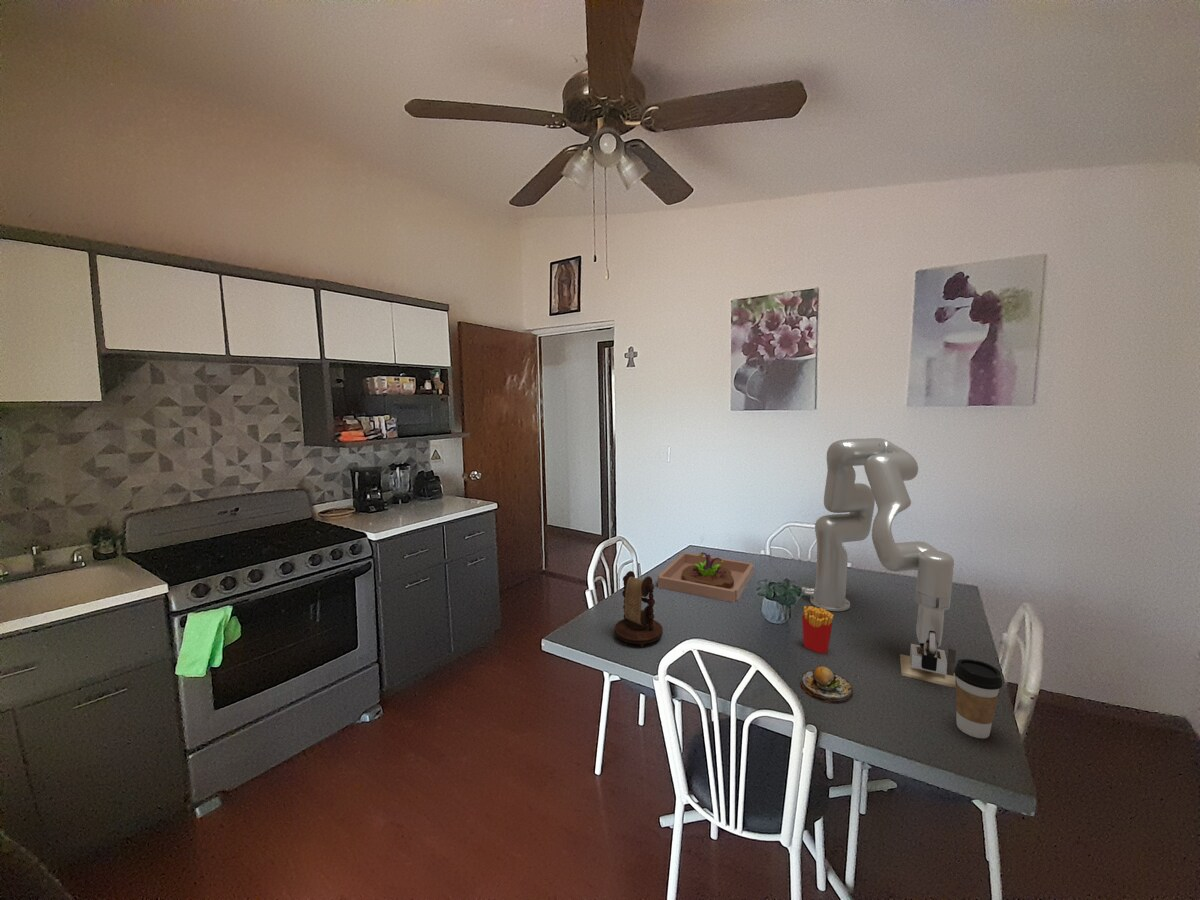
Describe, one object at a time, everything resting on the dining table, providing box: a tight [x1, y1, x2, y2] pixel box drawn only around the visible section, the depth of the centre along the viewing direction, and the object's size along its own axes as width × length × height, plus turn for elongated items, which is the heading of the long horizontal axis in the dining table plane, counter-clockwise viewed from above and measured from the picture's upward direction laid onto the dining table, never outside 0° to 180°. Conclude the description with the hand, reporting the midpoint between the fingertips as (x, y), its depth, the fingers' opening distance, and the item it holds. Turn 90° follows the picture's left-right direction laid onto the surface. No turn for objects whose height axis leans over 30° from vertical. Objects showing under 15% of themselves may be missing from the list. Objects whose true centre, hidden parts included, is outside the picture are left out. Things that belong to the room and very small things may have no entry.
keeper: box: [899, 645, 957, 689], centre depth 131 cm, size 12×10×8 cm
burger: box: [800, 665, 854, 704], centre depth 125 cm, size 12×12×8 cm
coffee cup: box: [954, 658, 1003, 739], centre depth 109 cm, size 8×8×15 cm
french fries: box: [801, 605, 834, 654], centre depth 143 cm, size 8×4×12 cm, turn 42°
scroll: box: [614, 570, 664, 648], centre depth 151 cm, size 15×15×20 cm
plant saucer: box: [657, 552, 755, 603], centre depth 194 cm, size 30×30×4 cm
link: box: [909, 643, 948, 675], centre depth 131 cm, size 8×6×4 cm
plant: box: [682, 551, 734, 588], centre depth 193 cm, size 20×20×11 cm
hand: (927, 661), depth 131 cm, fingers closed on link, 6 cm apart
